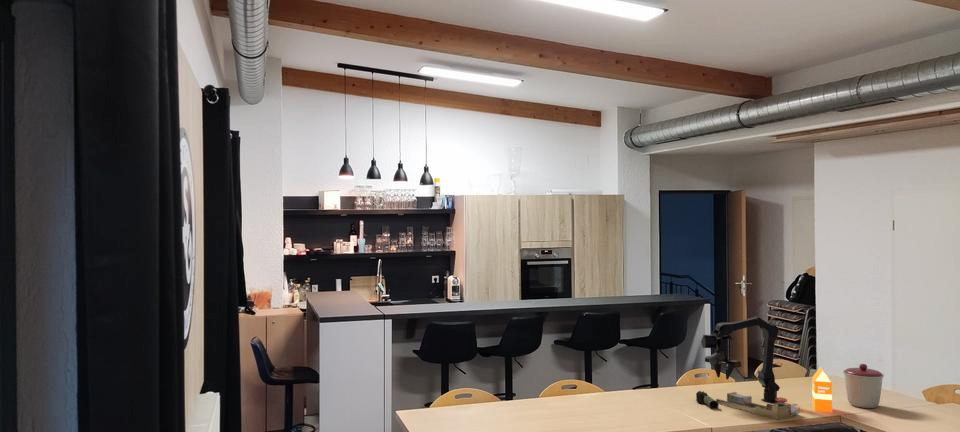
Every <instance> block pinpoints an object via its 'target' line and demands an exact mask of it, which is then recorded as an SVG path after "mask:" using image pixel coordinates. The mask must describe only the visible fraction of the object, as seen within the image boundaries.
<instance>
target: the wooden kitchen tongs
mask: <svg viewBox="0 0 960 432" xmlns="http://www.w3.org/2000/svg"><path fill="white" fill-rule="evenodd" d="M715 401H717V402H718V405H723V406H726V407H728V408H729V407H730V408H732V407H733V409H736V408H737V410H740V409H741V411H743V410H744V412H747V411H748V413H750V412H752V413H751V414H754V413H755V415H758V414H759V415H758V416H761V415H762V417H765V416H766V417H765V418H769V419H772V420H777V421H779V420H783V419H787V418H791V417H792V416H797V415H799V414H800V413H801V407H800V405H798V404H797V403H789V402H788V399H787V398H785V397H777V398H776V401H778V402H777V404H773V403H766V405H763V404H760V403H756V402H752V407H754V408H751V407H747V406H743V405H740V404H736V403H732V402H729V401H727V400H726V399H725V400H724V399H722V398H721V399H720V398H716V399H715Z"/></svg>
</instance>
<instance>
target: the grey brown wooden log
mask: <svg viewBox="0 0 960 432" xmlns="http://www.w3.org/2000/svg"><path fill="white" fill-rule="evenodd" d="M695 395H696V396H695V397H696V399H695V400H696V402H697V403H698V404H704V405H707V407H709V408H710V409H712V410H717V409H718V408H719V405H720V404H718V402H717V401H716V399H714V398H712V397H711V396H709V395H708V393H707V392H705V391H704V390H703V391H702V390H699V391H697V392H696V394H695Z"/></svg>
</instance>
